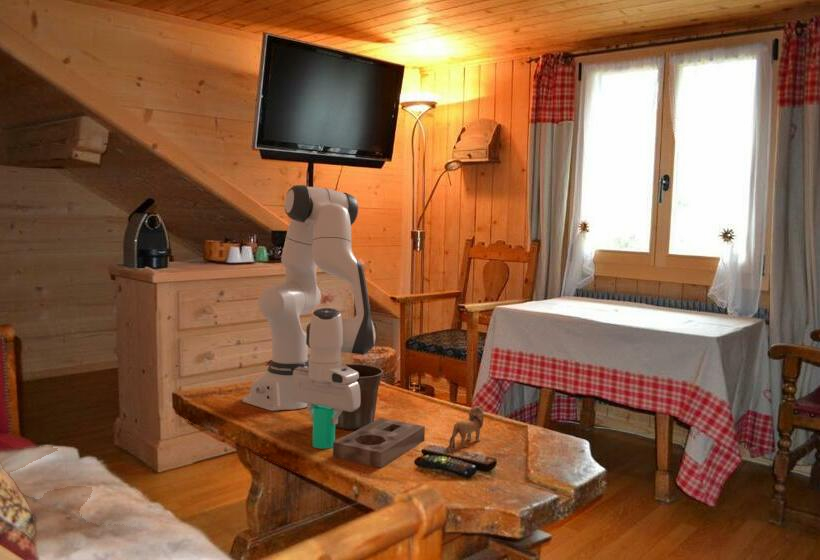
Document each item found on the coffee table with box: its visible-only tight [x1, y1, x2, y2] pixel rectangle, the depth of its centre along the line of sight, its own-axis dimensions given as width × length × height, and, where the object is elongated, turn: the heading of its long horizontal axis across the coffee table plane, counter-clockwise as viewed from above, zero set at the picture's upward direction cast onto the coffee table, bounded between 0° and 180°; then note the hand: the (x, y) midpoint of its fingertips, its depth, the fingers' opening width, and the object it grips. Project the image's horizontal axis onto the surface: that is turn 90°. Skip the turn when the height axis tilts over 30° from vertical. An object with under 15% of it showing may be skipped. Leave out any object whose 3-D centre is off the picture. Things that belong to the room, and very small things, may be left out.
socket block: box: [332, 417, 426, 469], centre depth 183 cm, size 14×24×4 cm, turn 153°
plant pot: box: [335, 363, 384, 431], centre depth 202 cm, size 16×16×16 cm
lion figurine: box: [448, 406, 484, 449], centre depth 189 cm, size 15×5×9 cm, turn 148°
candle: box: [312, 405, 336, 450], centre depth 184 cm, size 6×6×12 cm
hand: (324, 421), depth 184 cm, fingers closed on candle, 5 cm apart
